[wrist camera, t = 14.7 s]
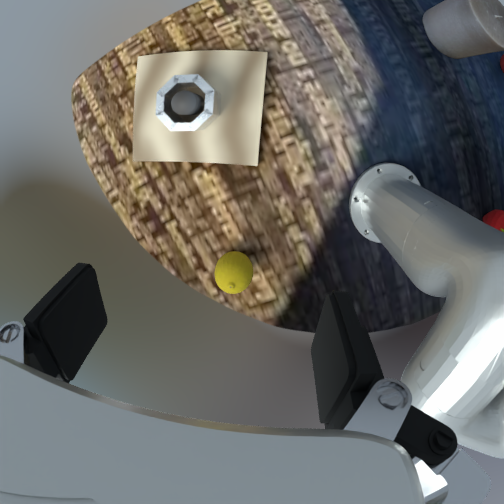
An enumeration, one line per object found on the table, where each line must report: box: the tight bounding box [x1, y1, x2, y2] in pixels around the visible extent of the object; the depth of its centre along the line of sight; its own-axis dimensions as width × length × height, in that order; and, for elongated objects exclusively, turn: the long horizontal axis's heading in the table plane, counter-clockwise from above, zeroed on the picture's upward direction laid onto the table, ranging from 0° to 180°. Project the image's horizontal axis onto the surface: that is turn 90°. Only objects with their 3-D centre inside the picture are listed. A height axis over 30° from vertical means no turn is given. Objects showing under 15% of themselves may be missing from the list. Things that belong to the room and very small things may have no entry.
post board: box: [133, 50, 268, 166], centre depth 31 cm, size 18×16×6 cm
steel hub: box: [156, 74, 221, 131], centre depth 30 cm, size 7×7×5 cm
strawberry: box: [483, 209, 504, 232], centre depth 33 cm, size 6×8×10 cm
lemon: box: [215, 251, 253, 294], centre depth 40 cm, size 6×6×8 cm
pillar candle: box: [423, 0, 504, 59], centre depth 17 cm, size 10×10×15 cm
